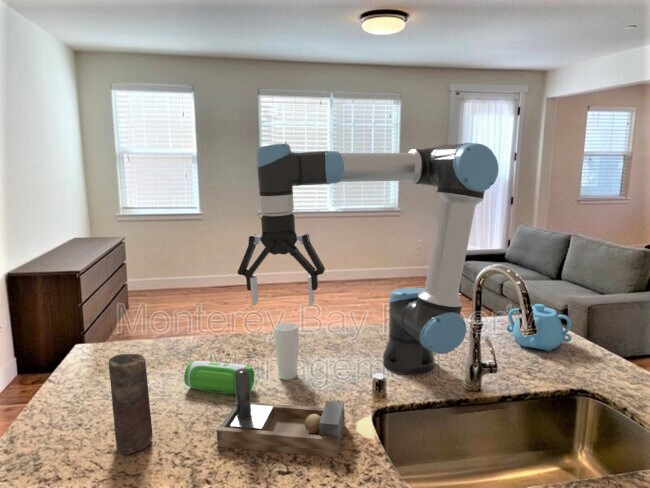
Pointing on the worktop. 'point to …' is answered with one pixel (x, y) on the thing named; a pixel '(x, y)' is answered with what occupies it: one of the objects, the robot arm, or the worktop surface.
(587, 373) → the worktop surface
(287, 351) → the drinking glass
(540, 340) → the decorative pot
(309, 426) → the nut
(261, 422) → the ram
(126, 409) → the candle
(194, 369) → the speaker
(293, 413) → the base
